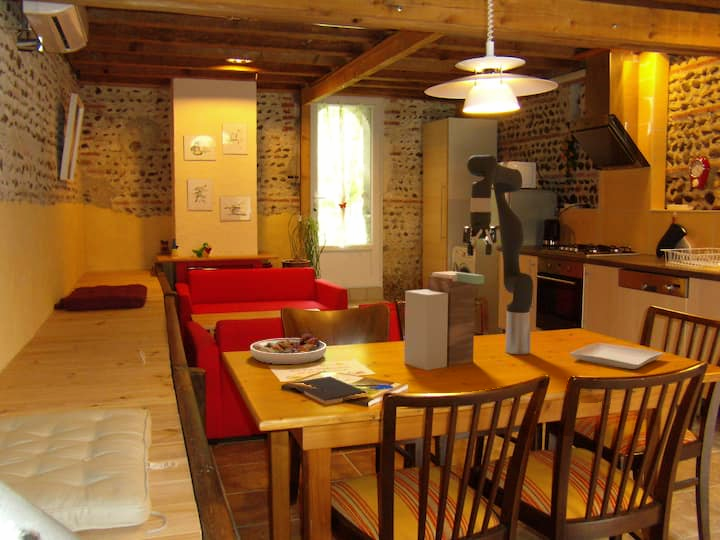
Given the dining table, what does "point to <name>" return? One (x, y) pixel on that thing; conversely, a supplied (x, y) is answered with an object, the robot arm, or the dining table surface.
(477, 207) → the robot arm
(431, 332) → the tall grey pillar
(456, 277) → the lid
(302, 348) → the bowl
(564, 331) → the dining table surface
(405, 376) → the dining table surface
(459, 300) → the wood grain pillar
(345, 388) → the hardcover book
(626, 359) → the square plate
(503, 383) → the dining table surface
